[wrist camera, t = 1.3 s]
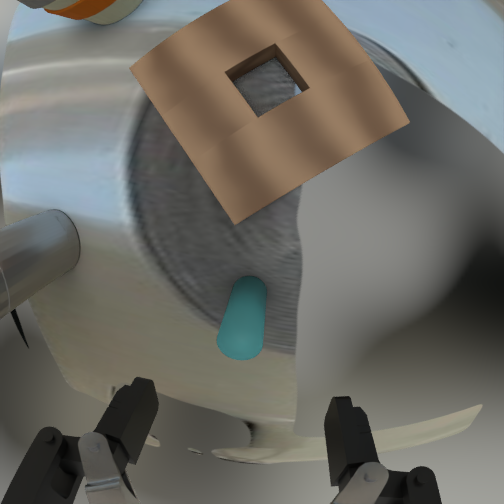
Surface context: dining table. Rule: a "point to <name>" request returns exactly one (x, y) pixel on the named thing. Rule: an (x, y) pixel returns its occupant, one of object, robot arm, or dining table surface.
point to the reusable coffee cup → (87, 9)
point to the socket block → (279, 118)
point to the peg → (244, 320)
